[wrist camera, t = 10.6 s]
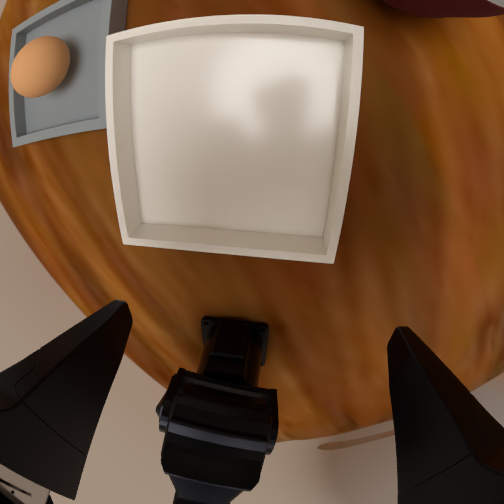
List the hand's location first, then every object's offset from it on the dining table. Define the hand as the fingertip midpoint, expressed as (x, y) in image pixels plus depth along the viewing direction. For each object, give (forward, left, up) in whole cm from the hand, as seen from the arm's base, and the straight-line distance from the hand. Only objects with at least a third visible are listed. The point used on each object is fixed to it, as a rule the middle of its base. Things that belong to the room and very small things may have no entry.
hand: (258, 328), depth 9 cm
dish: (+4, +3, -13) cm, 14 cm away
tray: (+11, +17, -13) cm, 24 cm away
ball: (+11, +17, -10) cm, 22 cm away
